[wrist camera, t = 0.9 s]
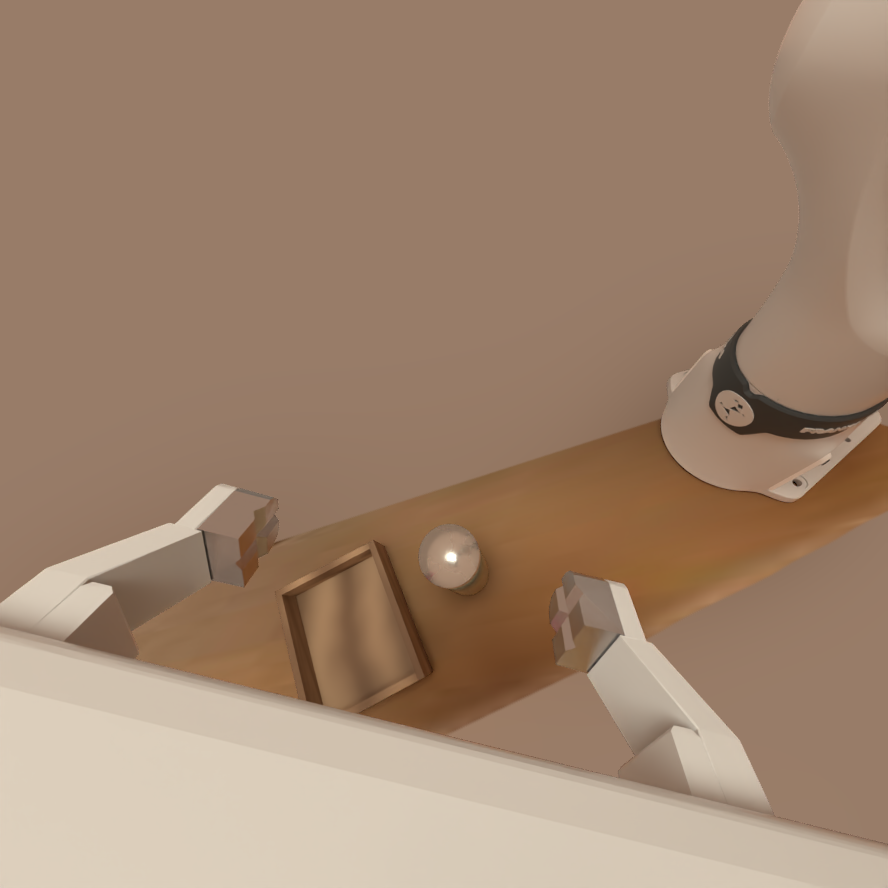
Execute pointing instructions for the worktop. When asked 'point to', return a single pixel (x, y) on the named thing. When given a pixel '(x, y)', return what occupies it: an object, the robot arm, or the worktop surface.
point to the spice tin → (453, 560)
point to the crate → (351, 632)
